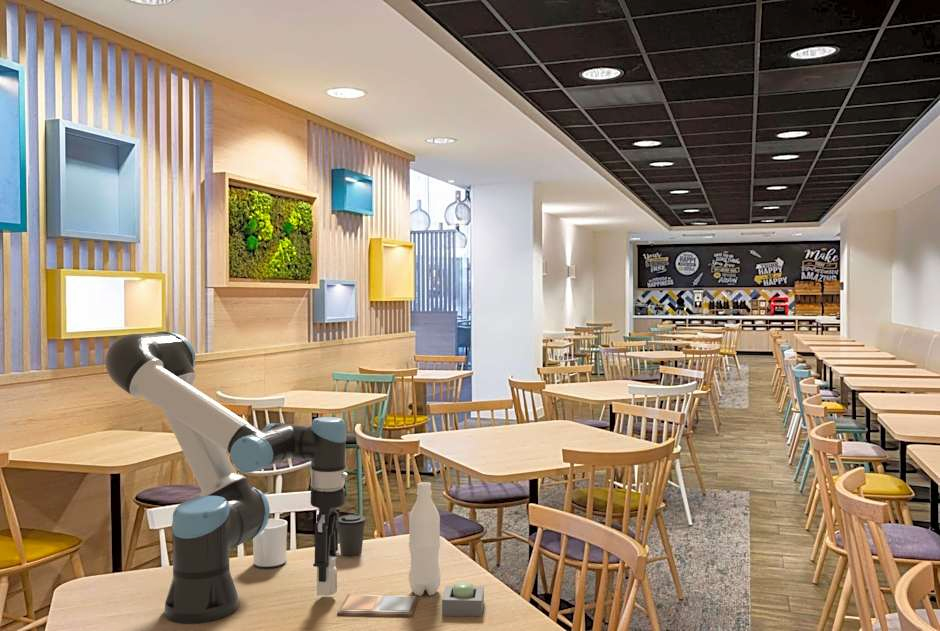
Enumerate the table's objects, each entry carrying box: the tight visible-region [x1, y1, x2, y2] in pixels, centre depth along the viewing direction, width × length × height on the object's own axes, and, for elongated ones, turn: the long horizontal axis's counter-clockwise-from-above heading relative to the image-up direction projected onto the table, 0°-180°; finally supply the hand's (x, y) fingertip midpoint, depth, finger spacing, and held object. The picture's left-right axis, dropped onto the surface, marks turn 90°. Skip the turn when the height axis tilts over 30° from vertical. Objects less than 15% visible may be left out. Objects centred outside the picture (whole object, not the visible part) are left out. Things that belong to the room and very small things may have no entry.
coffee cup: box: [338, 514, 367, 558], centre depth 216 cm, size 8×8×10 cm
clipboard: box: [336, 594, 419, 618], centre depth 179 cm, size 16×10×1 cm, turn 86°
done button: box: [452, 581, 474, 598], centre depth 177 cm, size 4×4×3 cm
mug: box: [252, 518, 288, 570], centre depth 207 cm, size 11×9×10 cm
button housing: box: [441, 585, 485, 618], centre depth 178 cm, size 8×8×3 cm
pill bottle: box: [329, 556, 338, 596], centre depth 184 cm, size 4×4×8 cm
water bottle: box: [408, 481, 441, 597], centre depth 187 cm, size 7×7×25 cm
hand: (325, 590), depth 184 cm, fingers closed on pill bottle, 4 cm apart
